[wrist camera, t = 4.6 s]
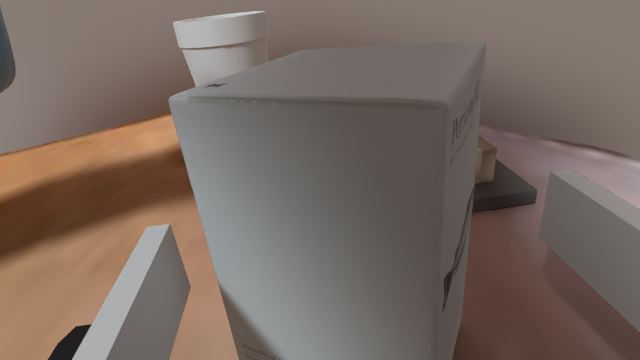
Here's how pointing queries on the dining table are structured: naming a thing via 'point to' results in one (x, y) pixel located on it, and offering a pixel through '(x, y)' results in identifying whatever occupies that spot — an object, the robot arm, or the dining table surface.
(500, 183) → the keeper cradle
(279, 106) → the supplement box
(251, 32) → the foam cup
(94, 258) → the dining table surface
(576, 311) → the dining table surface
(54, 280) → the dining table surface
